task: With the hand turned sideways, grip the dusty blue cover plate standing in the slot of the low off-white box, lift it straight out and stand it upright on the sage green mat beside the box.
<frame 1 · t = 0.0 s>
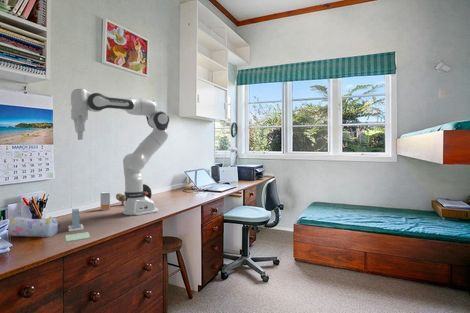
hand: (80, 139, 169), 48 cm above the table, tool pointing down, fingers open, 8 cm apart
skincare box: (105, 209, 196), on the table
blue cover plate: (75, 228, 149), point 1 cm above the table, touching slot box
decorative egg: (143, 204, 215), on the table
green mat: (77, 237, 137), on the table
lion figurine: (125, 205, 211), on the table
pencil case: (34, 236, 139), on the table
slot box: (75, 229, 149), on the table
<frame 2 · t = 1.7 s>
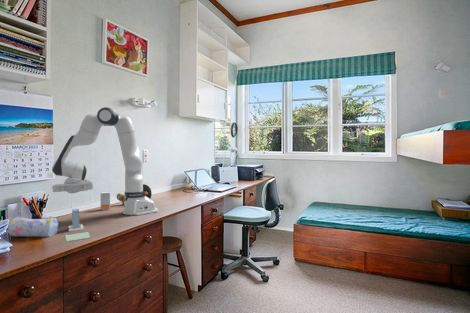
hand: (73, 188, 159), 20 cm above the table, tool horizontal, fingers open, 8 cm apart
nothing on the table moved.
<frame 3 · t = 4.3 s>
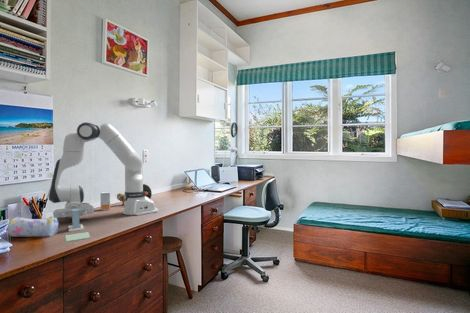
hand: (74, 214, 157), 6 cm above the table, tool horizontal, fingers open, 8 cm apart
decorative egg: (143, 204, 215), on the table, touching lion figurine
lion figurine: (126, 205, 211), on the table, touching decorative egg
everything else where it was.
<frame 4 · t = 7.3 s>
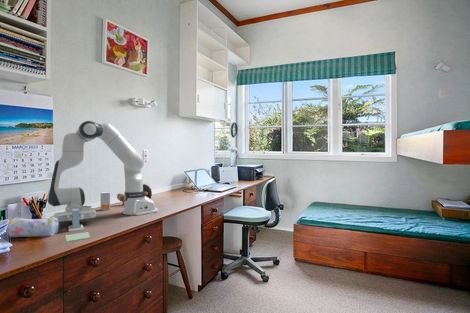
hand: (75, 218, 148), 6 cm above the table, tool horizontal, fingers closed on blue cover plate, 3 cm apart
blue cover plate: (75, 228, 149), point 1 cm above the table, touching gripper, slot box
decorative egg: (143, 204, 215), on the table
lion figurine: (126, 205, 211), on the table
everything else where it was.
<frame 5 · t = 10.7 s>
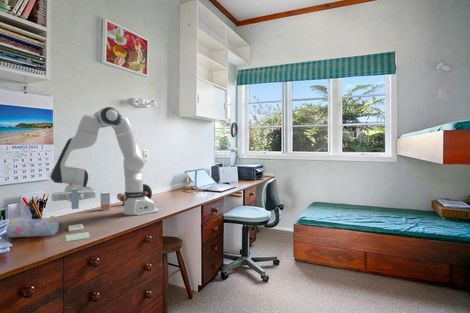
hand: (75, 197, 144), 18 cm above the table, tool horizontal, fingers closed on blue cover plate, 3 cm apart
blue cover plate: (75, 207, 145), point 13 cm above the table, touching gripper
when the fingers open (8 cm above the table, at t = 14.2 s): blue cover plate drops 2 cm, resting on green mat.
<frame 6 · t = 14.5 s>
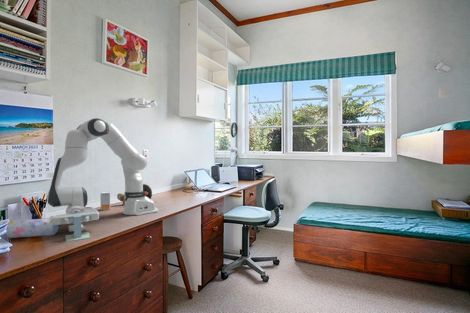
hand: (77, 221, 136), 8 cm above the table, tool horizontal, fingers open, 5 cm apart
blue cover plate: (77, 236, 137), point 1 cm above the table, touching green mat
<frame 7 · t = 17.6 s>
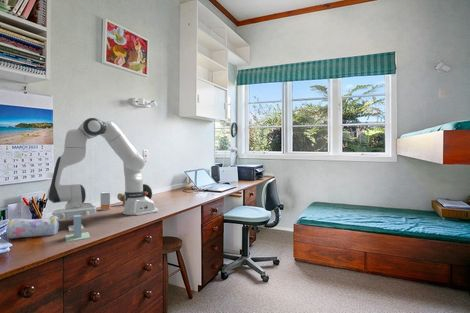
hand: (76, 215, 146), 8 cm above the table, tool horizontal, fingers open, 8 cm apart
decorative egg: (143, 204, 215), on the table, touching lion figurine
lion figurine: (127, 205, 211), on the table, touching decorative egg
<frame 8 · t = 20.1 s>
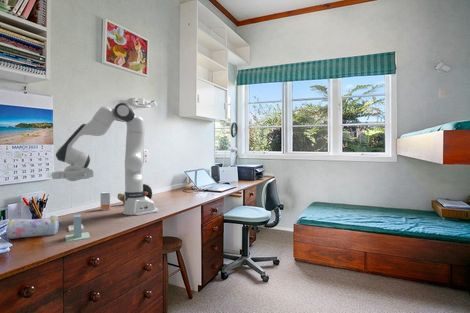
hand: (74, 175, 154), 28 cm above the table, tool horizontal, fingers open, 8 cm apart
at the end: blue cover plate inside the target area (0.0 cm from its centre), point 0.6 cm above the table; blue cover plate tilted 0°; the gripper is holding nothing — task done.
